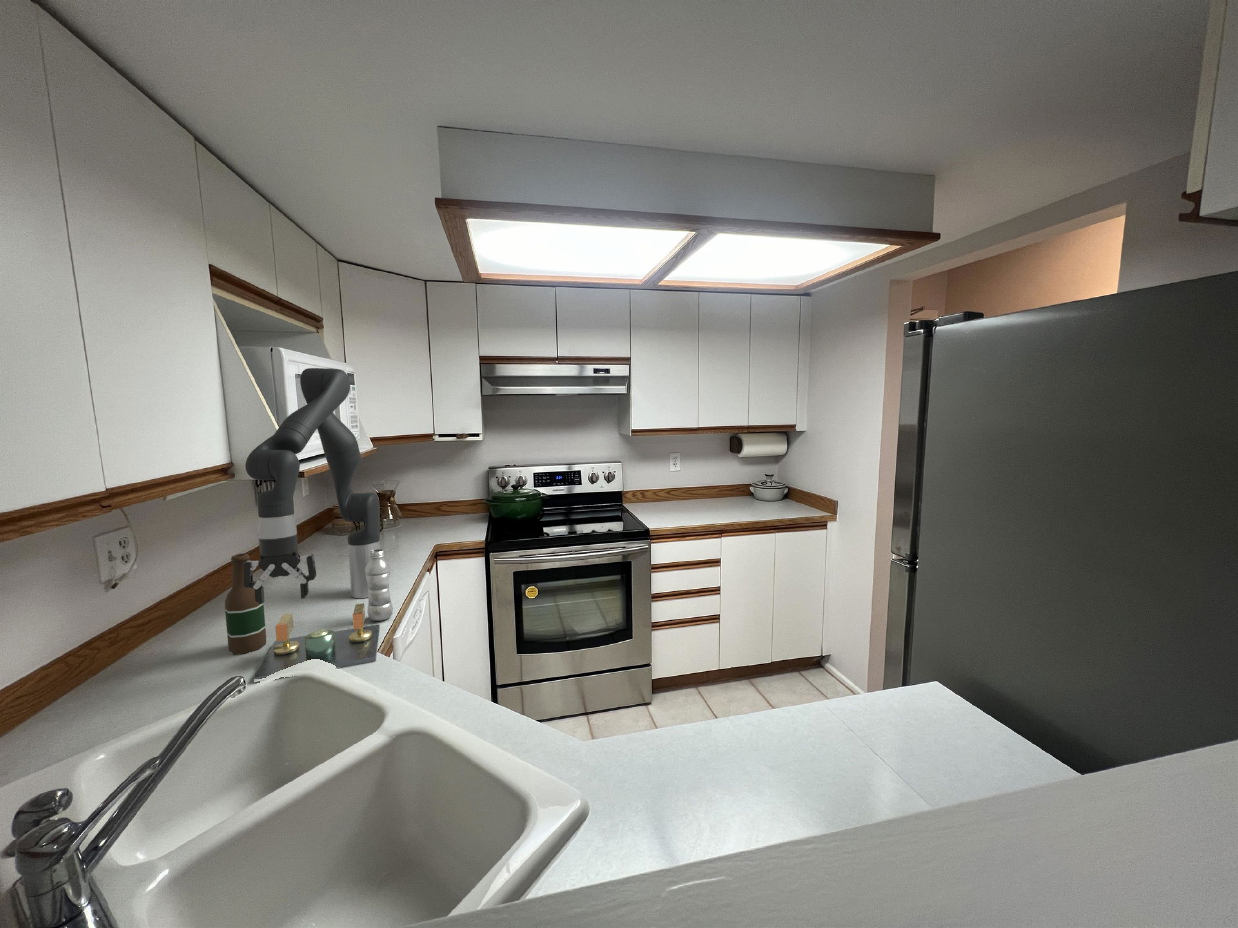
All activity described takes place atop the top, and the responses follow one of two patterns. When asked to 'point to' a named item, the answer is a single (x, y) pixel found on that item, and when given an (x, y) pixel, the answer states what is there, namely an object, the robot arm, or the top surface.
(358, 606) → the knob
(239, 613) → the beer bottle
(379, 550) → the plastic bottle
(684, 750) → the top surface
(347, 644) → the base plate
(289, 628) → the knob
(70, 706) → the top surface
